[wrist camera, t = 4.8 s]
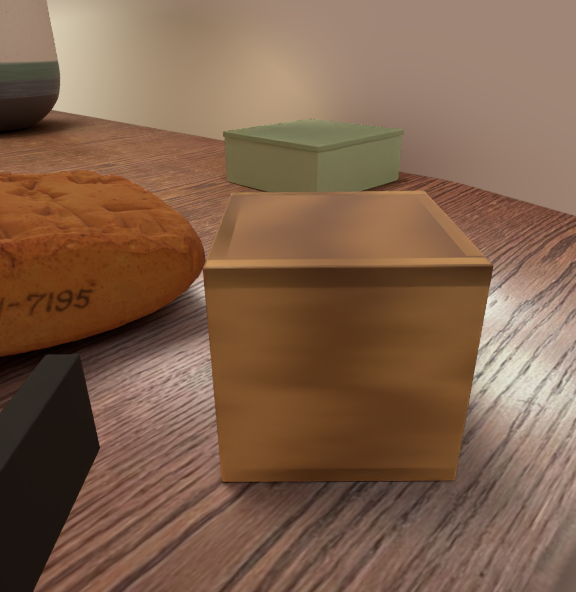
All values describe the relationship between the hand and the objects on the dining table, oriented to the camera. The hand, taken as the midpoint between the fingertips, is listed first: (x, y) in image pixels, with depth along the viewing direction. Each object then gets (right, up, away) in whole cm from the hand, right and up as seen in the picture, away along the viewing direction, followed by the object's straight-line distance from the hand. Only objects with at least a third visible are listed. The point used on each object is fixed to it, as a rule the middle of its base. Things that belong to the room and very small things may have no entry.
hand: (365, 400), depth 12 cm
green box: (+1, +17, +52) cm, 54 cm away
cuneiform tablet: (-19, +1, +20) cm, 28 cm away
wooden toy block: (0, -3, +12) cm, 12 cm away
